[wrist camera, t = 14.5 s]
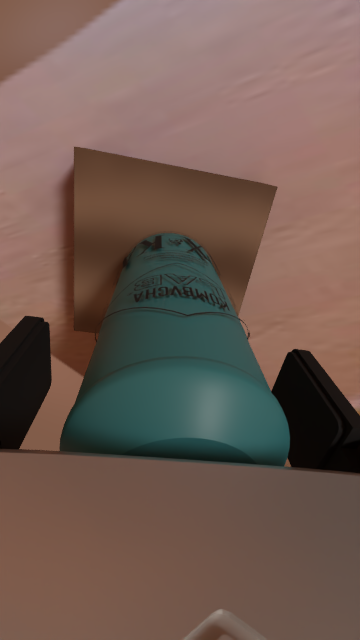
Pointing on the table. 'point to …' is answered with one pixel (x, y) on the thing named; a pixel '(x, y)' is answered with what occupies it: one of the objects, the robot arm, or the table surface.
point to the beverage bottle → (175, 368)
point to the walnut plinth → (158, 222)
